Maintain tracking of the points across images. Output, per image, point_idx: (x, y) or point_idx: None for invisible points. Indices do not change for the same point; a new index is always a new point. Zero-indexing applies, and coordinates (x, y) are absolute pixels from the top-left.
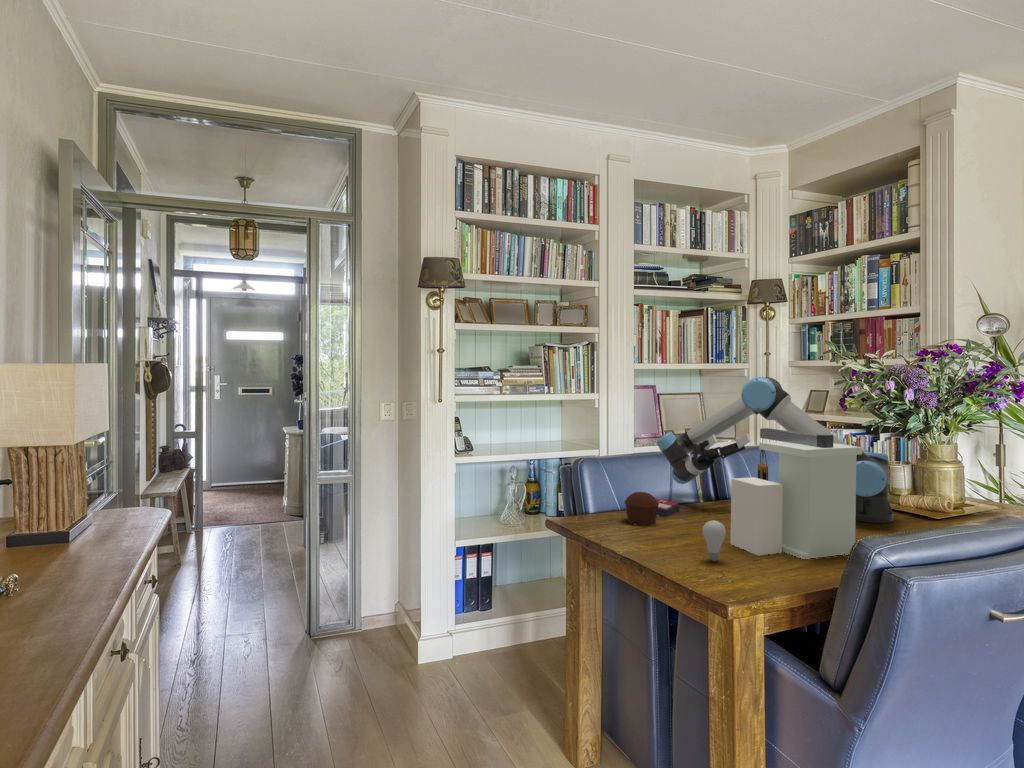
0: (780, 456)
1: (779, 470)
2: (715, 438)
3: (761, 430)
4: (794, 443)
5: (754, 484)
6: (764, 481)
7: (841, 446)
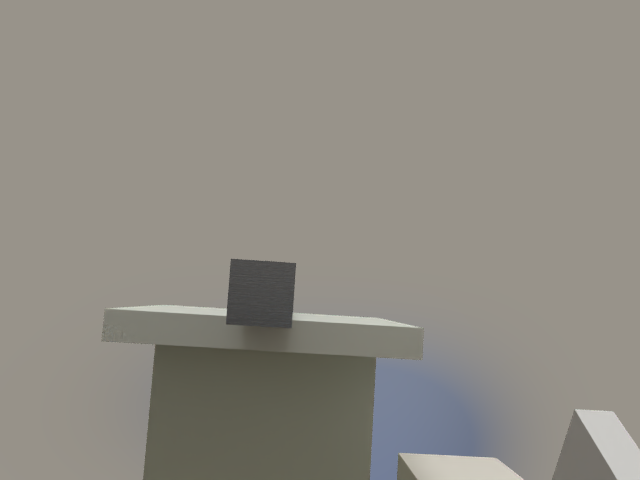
0: (374, 368)
1: (371, 425)
2: (565, 465)
3: (294, 275)
4: (294, 317)
5: (503, 465)
6: (437, 473)
7: (207, 308)
